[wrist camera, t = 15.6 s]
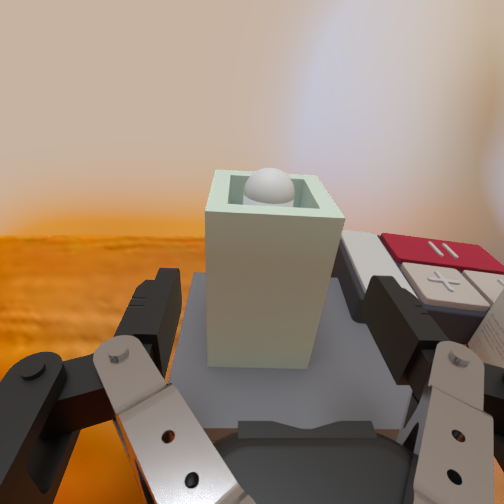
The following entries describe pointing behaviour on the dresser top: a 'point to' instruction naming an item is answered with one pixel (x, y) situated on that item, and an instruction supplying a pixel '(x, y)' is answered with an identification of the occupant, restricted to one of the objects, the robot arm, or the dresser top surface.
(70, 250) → the dresser top surface
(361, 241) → the dark gray paneled box
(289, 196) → the post stand
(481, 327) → the supplement box
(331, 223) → the sleeve
